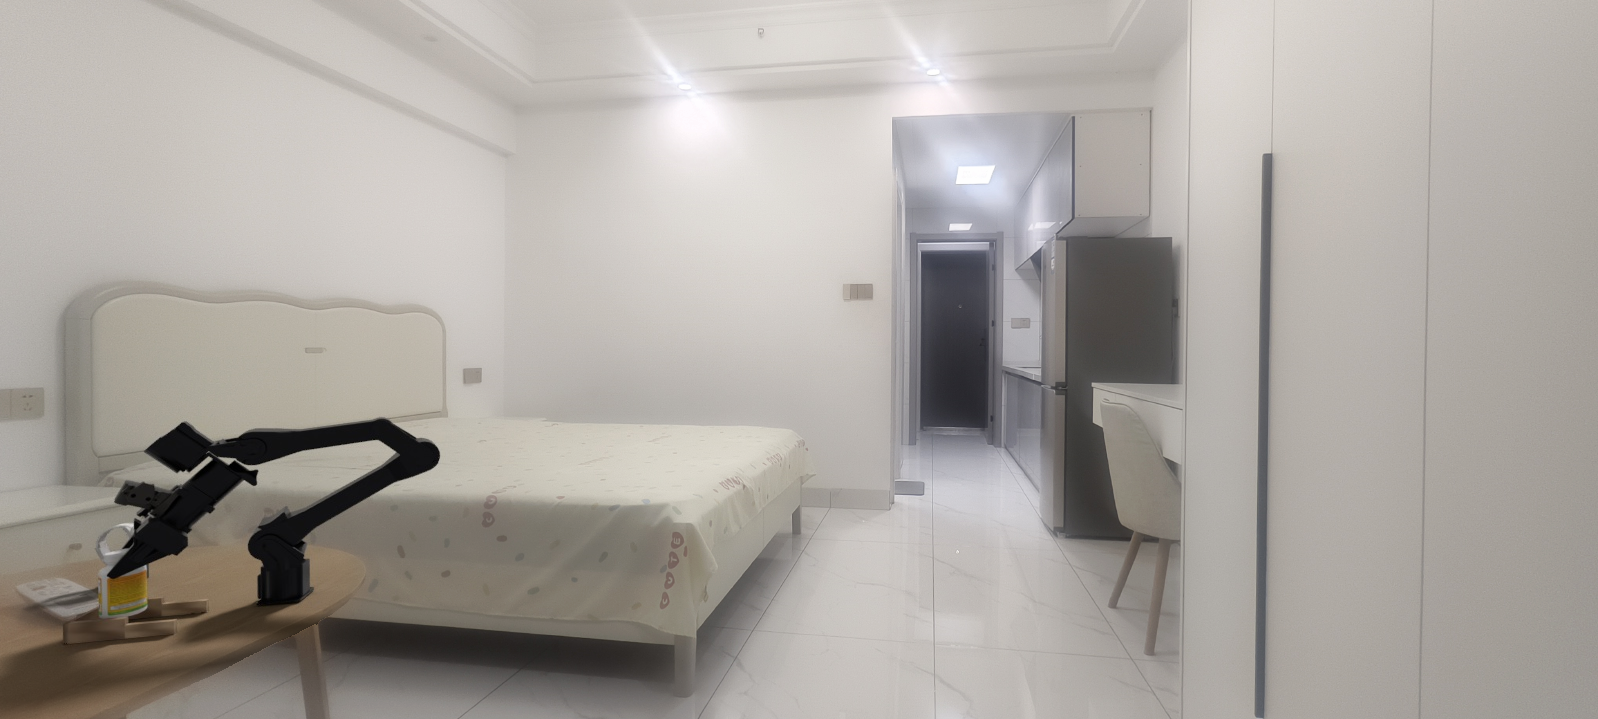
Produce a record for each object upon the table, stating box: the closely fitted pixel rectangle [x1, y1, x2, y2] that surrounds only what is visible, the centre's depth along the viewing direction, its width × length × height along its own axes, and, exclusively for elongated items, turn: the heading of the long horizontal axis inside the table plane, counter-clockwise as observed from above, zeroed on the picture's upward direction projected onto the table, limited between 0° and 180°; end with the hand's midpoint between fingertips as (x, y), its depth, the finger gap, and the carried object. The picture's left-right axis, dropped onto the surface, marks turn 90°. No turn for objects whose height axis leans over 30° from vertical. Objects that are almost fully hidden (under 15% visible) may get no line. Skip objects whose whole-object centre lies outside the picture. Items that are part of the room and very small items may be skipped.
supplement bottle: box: [97, 548, 148, 619], centre depth 106 cm, size 5×5×10 cm
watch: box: [94, 522, 150, 579], centre depth 126 cm, size 6×8×11 cm
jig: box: [62, 596, 210, 645], centre depth 107 cm, size 14×10×3 cm
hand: (110, 572), depth 105 cm, fingers closed on supplement bottle, 5 cm apart
